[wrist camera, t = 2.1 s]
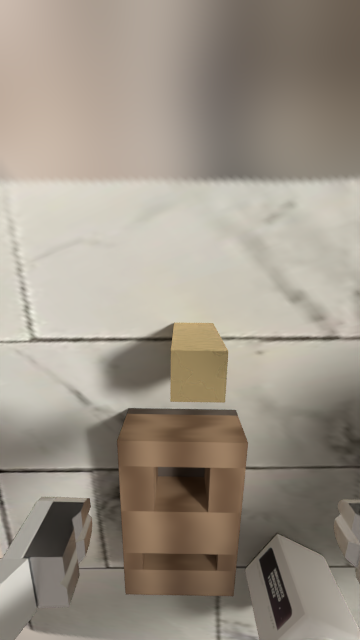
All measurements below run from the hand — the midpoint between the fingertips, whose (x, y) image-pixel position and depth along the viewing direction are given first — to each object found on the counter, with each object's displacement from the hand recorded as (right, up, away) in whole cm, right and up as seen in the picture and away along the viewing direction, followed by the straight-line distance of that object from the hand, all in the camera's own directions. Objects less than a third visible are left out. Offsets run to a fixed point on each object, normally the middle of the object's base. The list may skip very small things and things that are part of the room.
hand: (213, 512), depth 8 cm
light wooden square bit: (0, +4, +17) cm, 17 cm away
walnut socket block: (-1, -14, +21) cm, 25 cm away
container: (+13, -26, +24) cm, 38 cm away
